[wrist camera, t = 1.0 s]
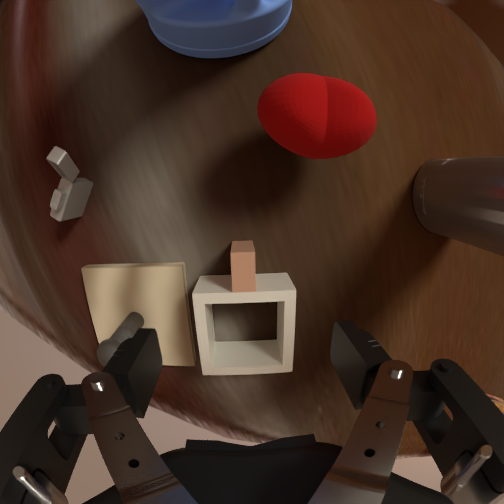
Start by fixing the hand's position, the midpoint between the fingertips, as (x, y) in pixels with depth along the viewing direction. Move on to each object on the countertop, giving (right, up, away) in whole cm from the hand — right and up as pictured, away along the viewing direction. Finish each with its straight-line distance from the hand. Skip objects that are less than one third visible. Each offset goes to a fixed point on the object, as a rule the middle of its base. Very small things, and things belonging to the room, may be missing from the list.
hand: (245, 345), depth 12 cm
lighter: (-18, +11, +14) cm, 25 cm away
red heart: (+5, +16, +14) cm, 22 cm away
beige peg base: (-12, -3, +17) cm, 21 cm away
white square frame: (0, -1, +17) cm, 17 cm away
